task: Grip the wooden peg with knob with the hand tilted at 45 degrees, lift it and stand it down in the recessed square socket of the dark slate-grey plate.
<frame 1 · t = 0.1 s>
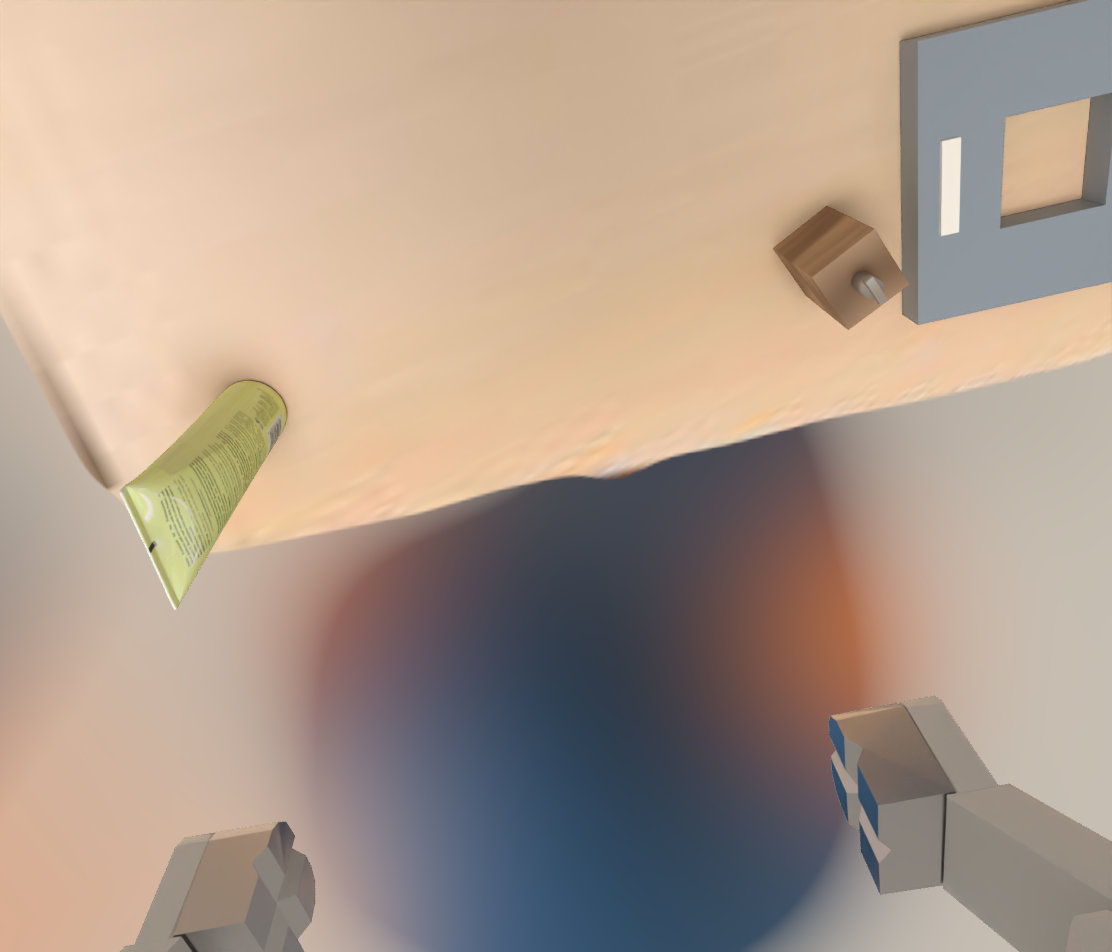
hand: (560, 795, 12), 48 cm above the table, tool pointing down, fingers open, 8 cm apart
tube: (253, 406, 60), on the table
socket plate: (1034, 157, 55), on the table
wooden peg with knob: (816, 251, 57), on the table
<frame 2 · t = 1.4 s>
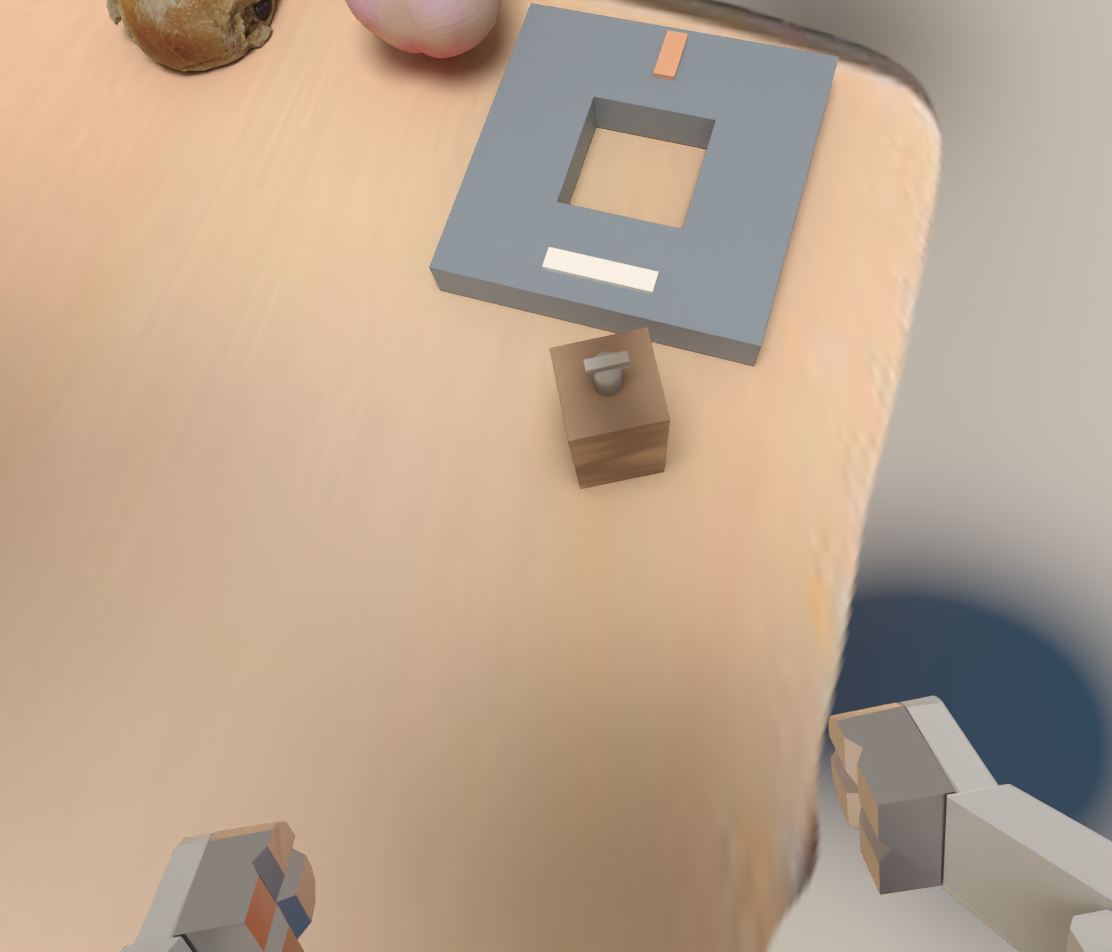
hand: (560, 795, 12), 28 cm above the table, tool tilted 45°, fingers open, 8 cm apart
socket plate: (636, 188, 47), on the table
decorative fruit: (446, 44, 51), on the table
wooden peg with knob: (613, 441, 43), on the table
bread roll: (206, 20, 54), on the table
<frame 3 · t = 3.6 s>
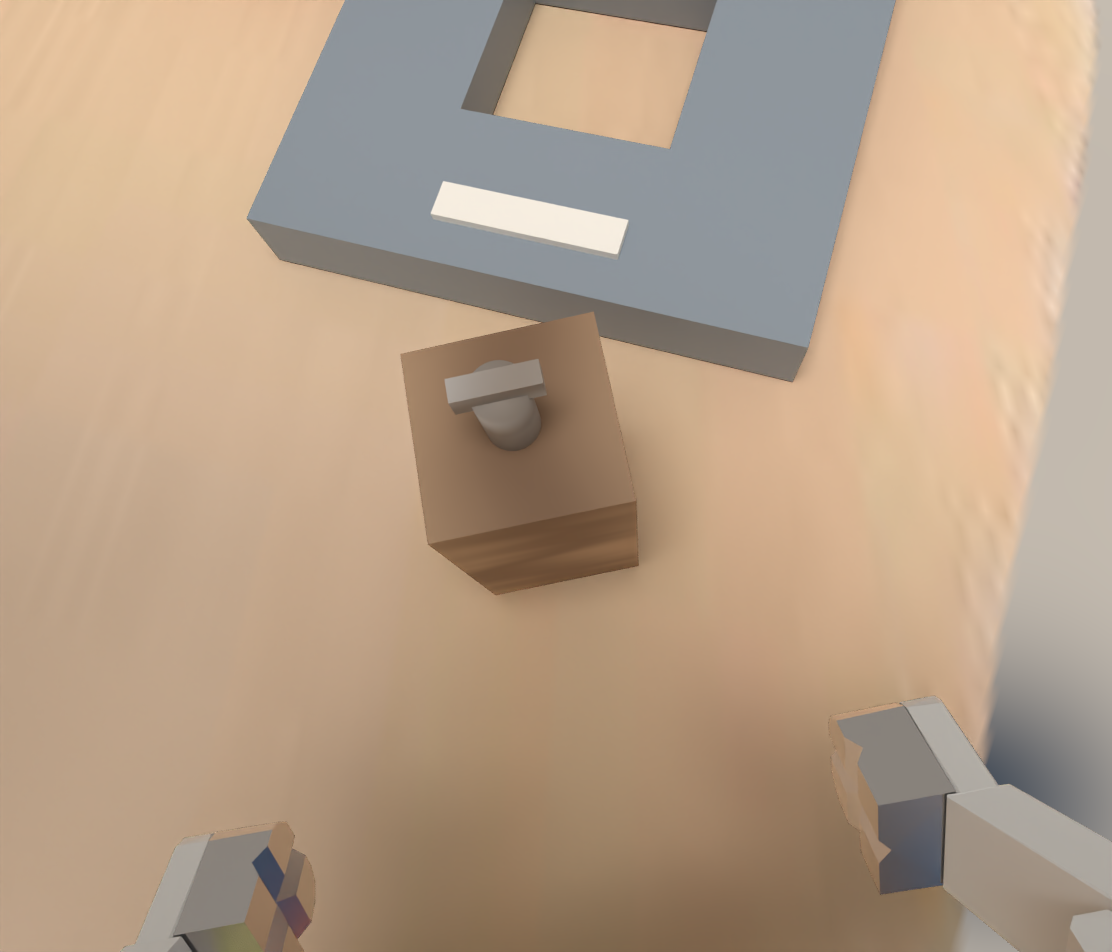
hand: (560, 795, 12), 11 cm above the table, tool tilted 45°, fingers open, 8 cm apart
socket plate: (598, 95, 29), on the table
wooden peg with knob: (553, 510, 25), on the table
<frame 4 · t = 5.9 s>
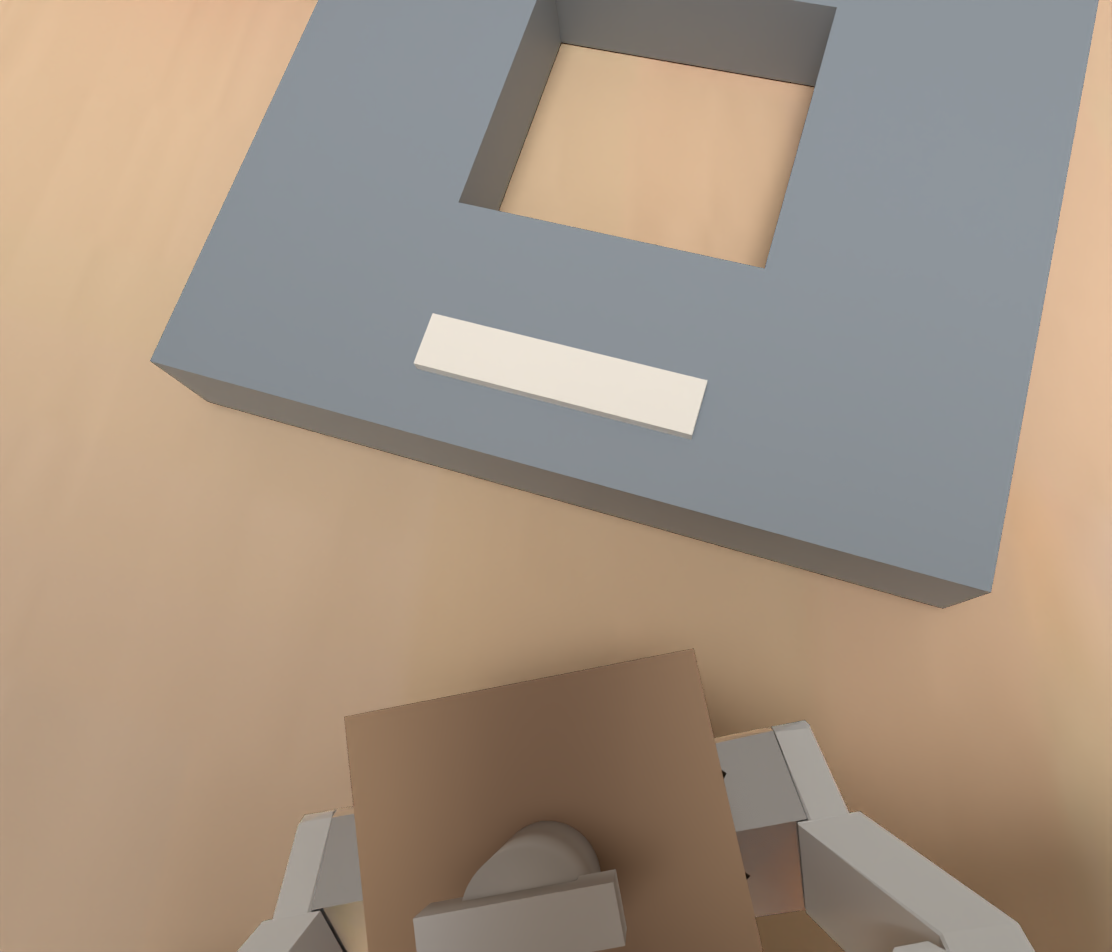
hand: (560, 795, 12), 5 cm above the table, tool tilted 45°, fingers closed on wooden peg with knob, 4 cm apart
socket plate: (649, 172, 21), on the table
wooden peg with knob: (592, 801, 17), on the table, touching gripper
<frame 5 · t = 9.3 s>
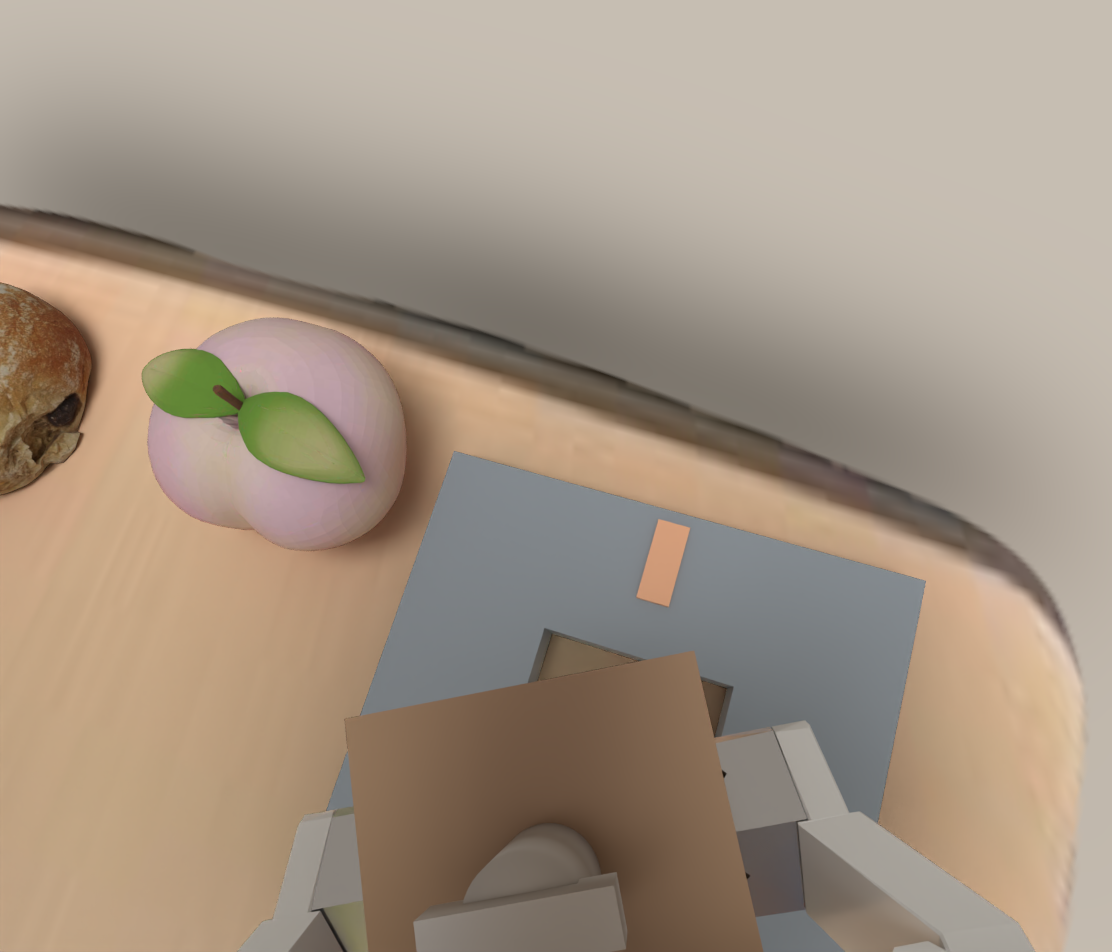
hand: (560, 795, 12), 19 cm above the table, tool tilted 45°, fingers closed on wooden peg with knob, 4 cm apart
socket plate: (612, 751, 31), on the table
decorative fruit: (338, 470, 35), on the table
wooden peg with knob: (592, 802, 17), point 14 cm above the table, touching gripper
when the fingers open (6 cm above the table, at t = 12.8 s): wooden peg with knob stays where it is, resting in socket plate.
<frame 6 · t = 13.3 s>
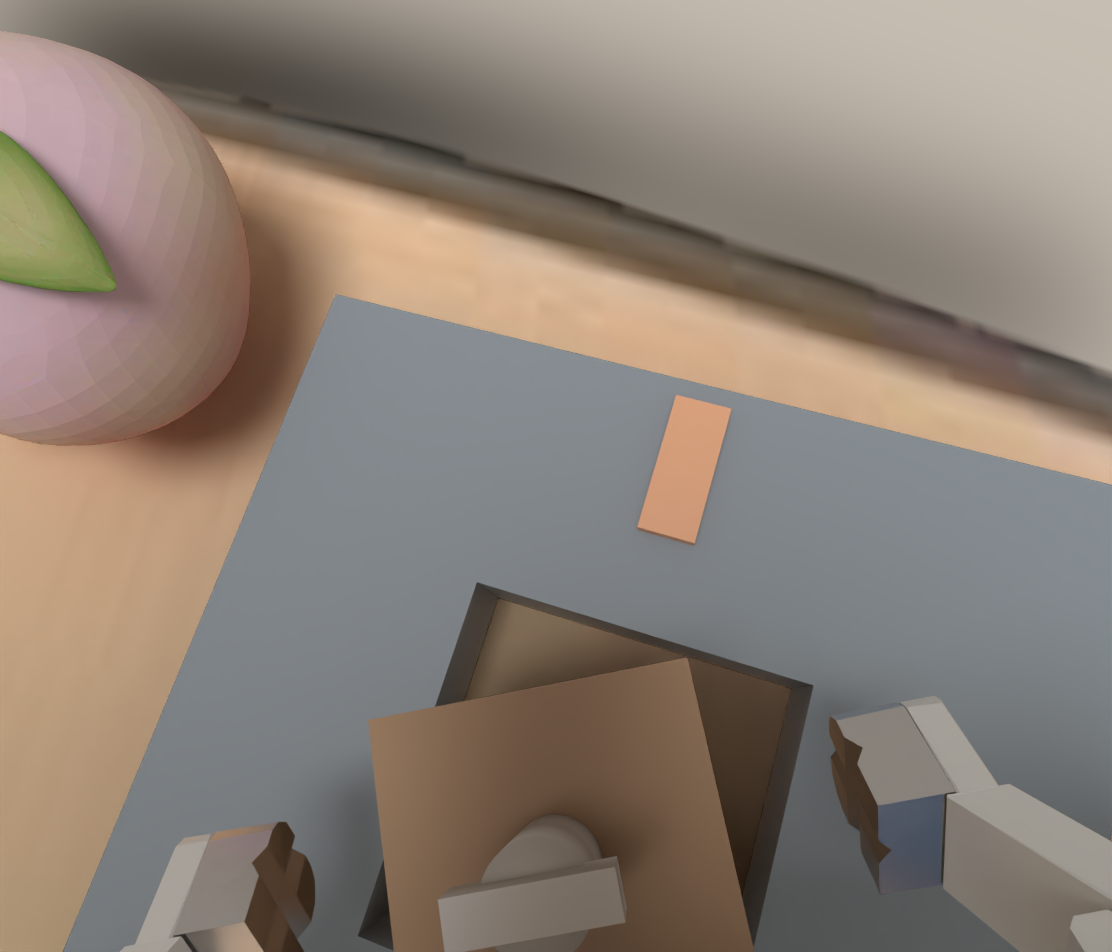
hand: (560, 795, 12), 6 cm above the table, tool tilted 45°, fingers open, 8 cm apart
socket plate: (596, 795, 18), on the table
decorative fruit: (172, 347, 22), on the table
wooden peg with knob: (593, 797, 18), resting in socket plate
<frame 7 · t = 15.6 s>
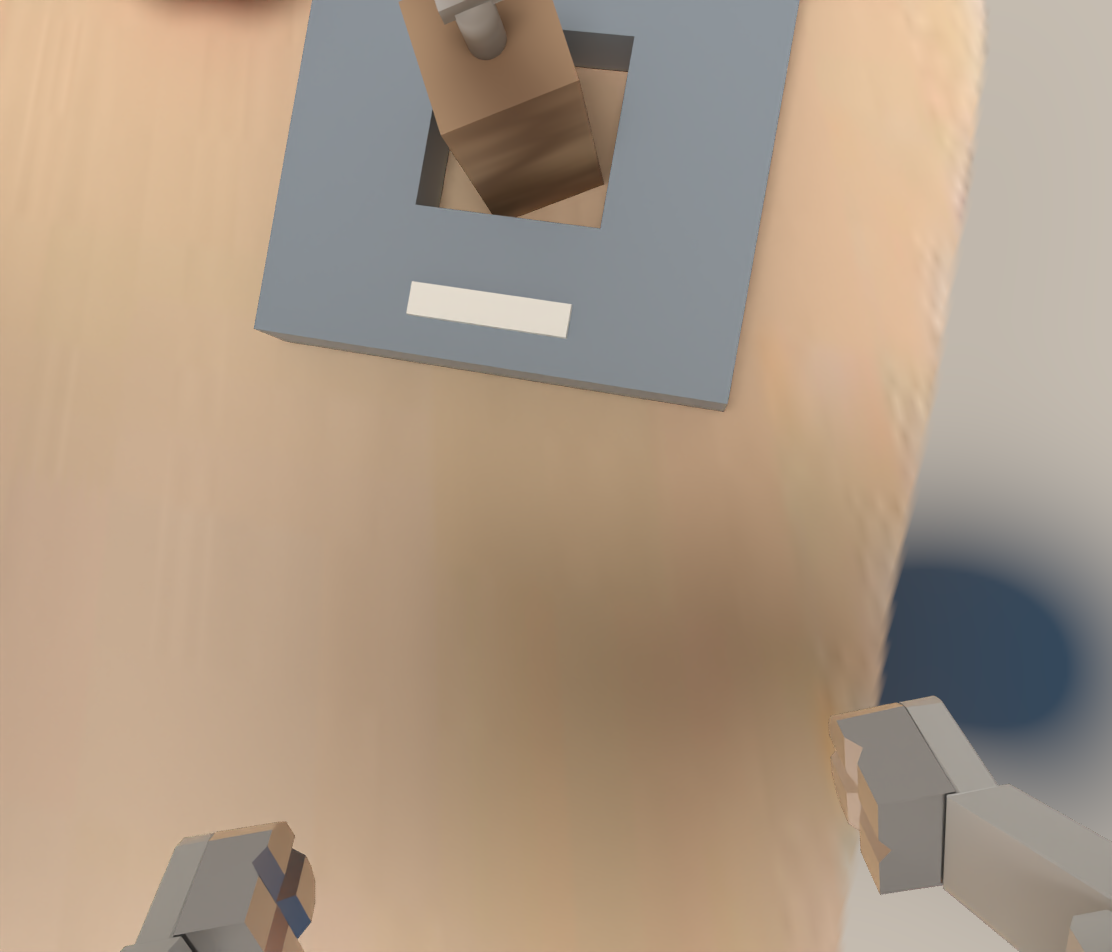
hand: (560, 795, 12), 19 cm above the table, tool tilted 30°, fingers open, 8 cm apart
socket plate: (534, 150, 32), on the table
wooden peg with knob: (534, 152, 32), resting in socket plate
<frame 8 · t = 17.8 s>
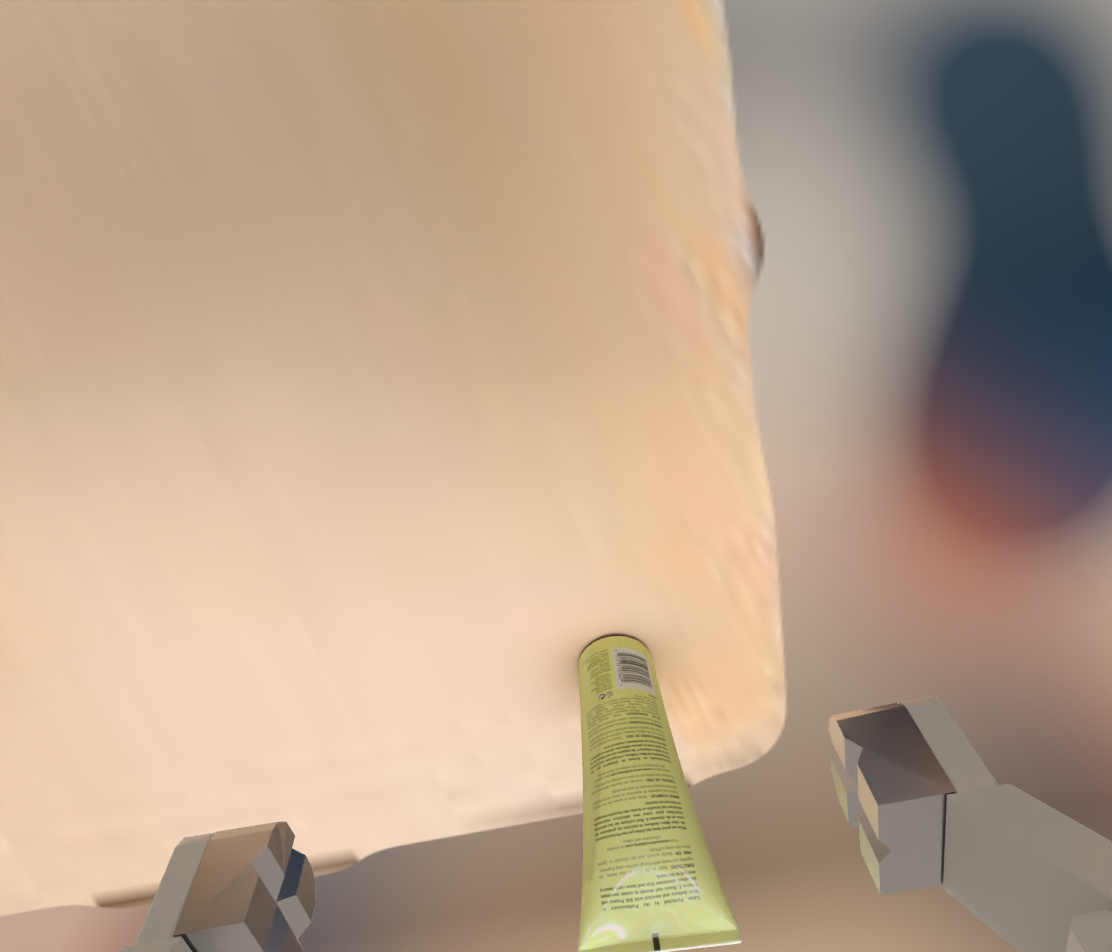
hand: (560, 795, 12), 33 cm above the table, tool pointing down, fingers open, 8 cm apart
tube: (610, 660, 54), on the table
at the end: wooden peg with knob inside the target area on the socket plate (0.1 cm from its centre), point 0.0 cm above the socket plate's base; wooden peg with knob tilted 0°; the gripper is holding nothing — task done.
